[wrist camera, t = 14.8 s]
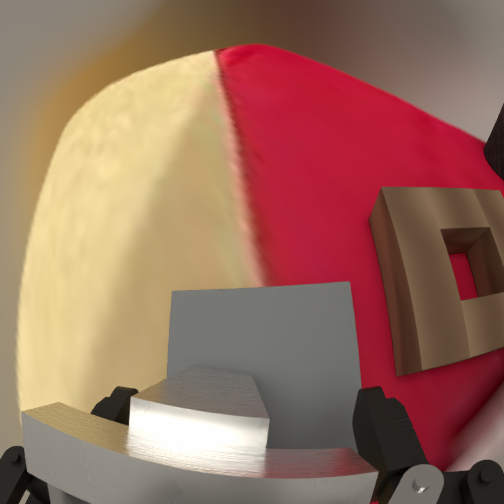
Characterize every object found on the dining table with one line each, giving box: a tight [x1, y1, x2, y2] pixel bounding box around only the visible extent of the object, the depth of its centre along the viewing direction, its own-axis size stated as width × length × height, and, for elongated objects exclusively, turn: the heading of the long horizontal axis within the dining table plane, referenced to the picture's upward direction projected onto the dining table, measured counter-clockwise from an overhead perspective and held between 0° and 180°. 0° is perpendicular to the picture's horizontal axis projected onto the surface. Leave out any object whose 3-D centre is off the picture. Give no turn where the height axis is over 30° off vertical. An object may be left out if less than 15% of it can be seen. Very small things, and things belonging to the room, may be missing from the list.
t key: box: [21, 365, 379, 504], centre depth 10 cm, size 8×4×12 cm, turn 84°
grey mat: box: [167, 281, 361, 455], centre depth 17 cm, size 12×12×1 cm
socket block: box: [369, 187, 504, 377], centre depth 17 cm, size 12×12×4 cm
